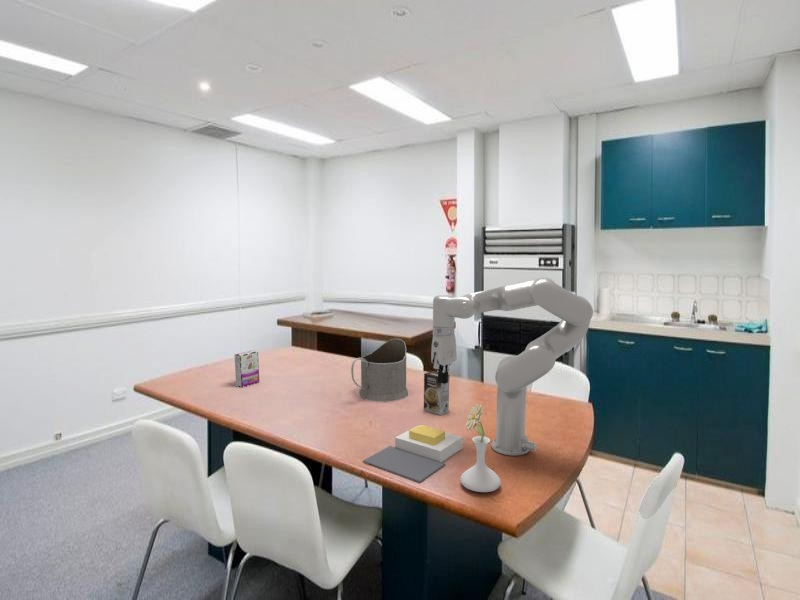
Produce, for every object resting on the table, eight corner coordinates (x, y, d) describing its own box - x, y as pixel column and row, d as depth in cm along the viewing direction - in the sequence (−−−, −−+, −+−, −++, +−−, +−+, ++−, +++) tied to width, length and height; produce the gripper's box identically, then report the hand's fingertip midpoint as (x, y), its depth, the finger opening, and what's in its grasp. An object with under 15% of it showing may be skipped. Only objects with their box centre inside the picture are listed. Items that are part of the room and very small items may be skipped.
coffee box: (423, 410, 193) (423, 373, 192) (432, 406, 198) (432, 370, 196) (440, 415, 187) (440, 377, 186) (449, 411, 192) (450, 374, 190)
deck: (462, 448, 156) (462, 437, 155) (440, 463, 145) (440, 451, 144) (418, 435, 167) (418, 425, 166) (395, 448, 155) (395, 437, 155)
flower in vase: (463, 474, 138) (464, 393, 135) (502, 479, 134) (504, 396, 132) (456, 496, 125) (457, 407, 123) (498, 502, 122) (500, 411, 119)
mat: (445, 465, 143) (445, 463, 143) (419, 483, 132) (419, 481, 132) (390, 447, 157) (390, 445, 156) (362, 462, 145) (362, 460, 145)
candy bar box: (253, 381, 238) (252, 350, 237) (259, 382, 236) (258, 351, 234) (235, 386, 229) (233, 354, 227) (241, 387, 226) (240, 355, 225)
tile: (445, 438, 154) (445, 431, 154) (433, 445, 149) (433, 437, 148) (420, 431, 160) (420, 424, 160) (409, 437, 155) (409, 430, 154)
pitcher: (418, 393, 217) (418, 341, 215) (370, 410, 194) (370, 352, 191) (383, 384, 233) (382, 335, 230) (335, 398, 209) (334, 345, 207)
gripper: (441, 335, 151) (440, 389, 153) (463, 329, 163) (462, 379, 164) (422, 332, 155) (422, 385, 157) (445, 327, 167) (444, 376, 169)
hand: (442, 382), depth 161 cm, fingers closed
